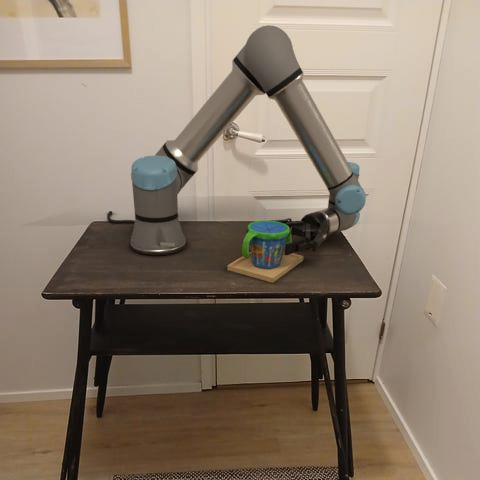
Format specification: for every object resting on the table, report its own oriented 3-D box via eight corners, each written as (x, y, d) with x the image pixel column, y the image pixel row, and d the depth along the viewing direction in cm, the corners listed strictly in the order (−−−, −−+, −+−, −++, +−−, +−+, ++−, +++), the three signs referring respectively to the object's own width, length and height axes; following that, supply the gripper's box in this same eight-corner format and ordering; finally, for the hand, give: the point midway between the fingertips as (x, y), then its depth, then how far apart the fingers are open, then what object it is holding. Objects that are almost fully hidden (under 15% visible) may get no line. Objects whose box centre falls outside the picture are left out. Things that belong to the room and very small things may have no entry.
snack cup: (277, 251, 135) (280, 216, 130) (302, 264, 127) (305, 227, 122) (230, 262, 127) (231, 225, 122) (253, 277, 120) (255, 238, 115)
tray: (227, 270, 124) (227, 265, 123) (260, 249, 137) (261, 245, 136) (272, 282, 118) (273, 278, 117) (303, 260, 131) (303, 255, 130)
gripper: (353, 250, 131) (302, 271, 118) (284, 226, 146) (232, 242, 133) (357, 223, 127) (305, 241, 114) (286, 201, 143) (233, 215, 130)
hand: (266, 242), depth 124 cm, fingers open, 13 cm apart
